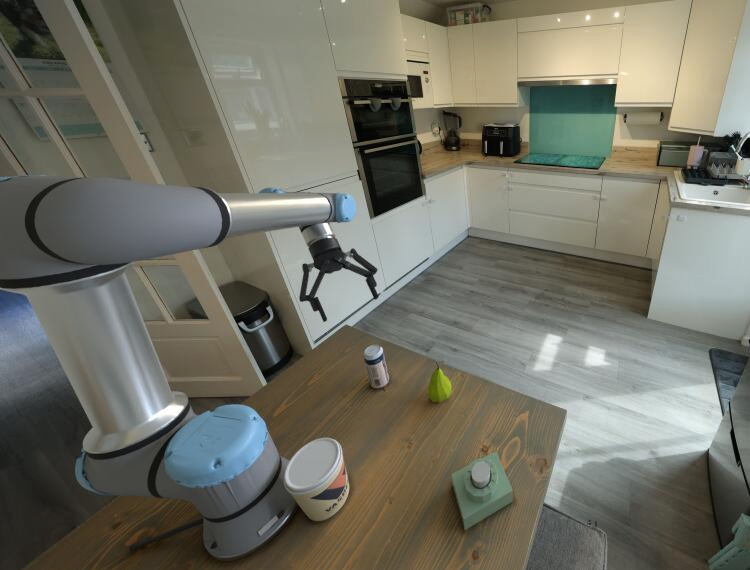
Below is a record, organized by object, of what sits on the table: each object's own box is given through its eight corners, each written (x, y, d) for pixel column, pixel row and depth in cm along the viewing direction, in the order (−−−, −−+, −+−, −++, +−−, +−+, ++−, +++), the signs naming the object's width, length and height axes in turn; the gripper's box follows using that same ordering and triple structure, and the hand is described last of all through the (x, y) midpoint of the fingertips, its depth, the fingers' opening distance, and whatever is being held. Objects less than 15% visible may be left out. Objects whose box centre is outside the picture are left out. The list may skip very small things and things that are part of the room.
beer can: (393, 379, 87) (386, 347, 82) (378, 392, 84) (370, 360, 79) (382, 372, 90) (374, 340, 85) (367, 384, 86) (358, 352, 81)
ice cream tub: (332, 533, 57) (315, 497, 52) (289, 520, 59) (268, 484, 54) (363, 476, 66) (351, 441, 61) (325, 466, 67) (310, 431, 62)
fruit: (438, 412, 79) (433, 379, 74) (423, 398, 82) (418, 365, 77) (457, 395, 83) (454, 363, 78) (443, 382, 87) (439, 350, 82)
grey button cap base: (464, 530, 58) (462, 513, 55) (452, 485, 64) (450, 468, 62) (512, 501, 62) (512, 484, 59) (496, 462, 68) (496, 445, 66)
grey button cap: (475, 492, 59) (475, 486, 58) (469, 472, 61) (468, 466, 61) (493, 482, 60) (492, 476, 59) (486, 464, 63) (485, 458, 62)
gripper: (364, 234, 100) (392, 293, 96) (271, 262, 84) (300, 333, 81) (368, 224, 94) (398, 286, 91) (268, 252, 78) (300, 328, 75)
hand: (352, 308), depth 86 cm, fingers open, 13 cm apart
